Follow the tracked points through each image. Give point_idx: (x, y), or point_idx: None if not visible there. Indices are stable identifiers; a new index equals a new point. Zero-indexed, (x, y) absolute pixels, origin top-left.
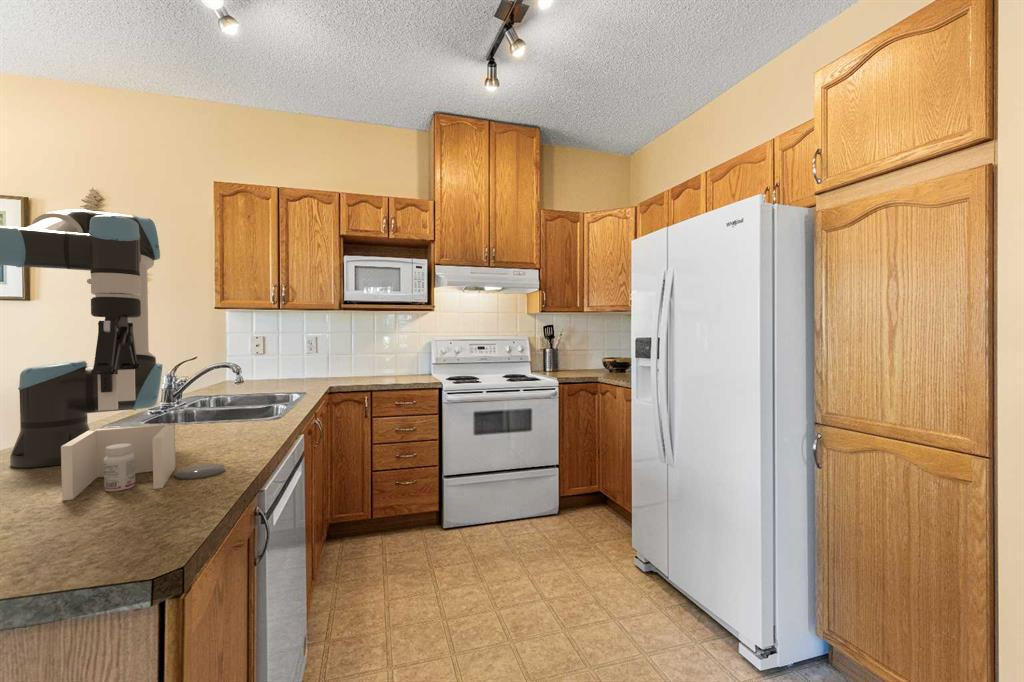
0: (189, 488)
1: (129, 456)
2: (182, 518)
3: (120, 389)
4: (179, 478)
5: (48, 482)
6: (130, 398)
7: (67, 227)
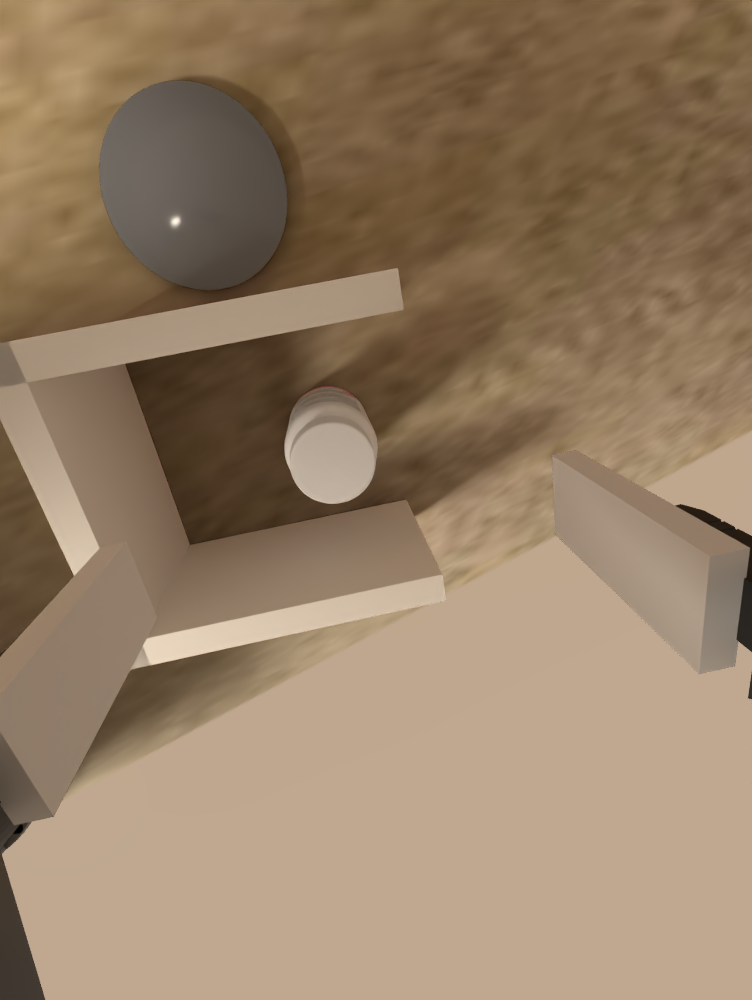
0: (402, 176)
1: (347, 411)
2: (711, 99)
3: (123, 659)
4: (271, 257)
5: None
6: (128, 570)
7: None
